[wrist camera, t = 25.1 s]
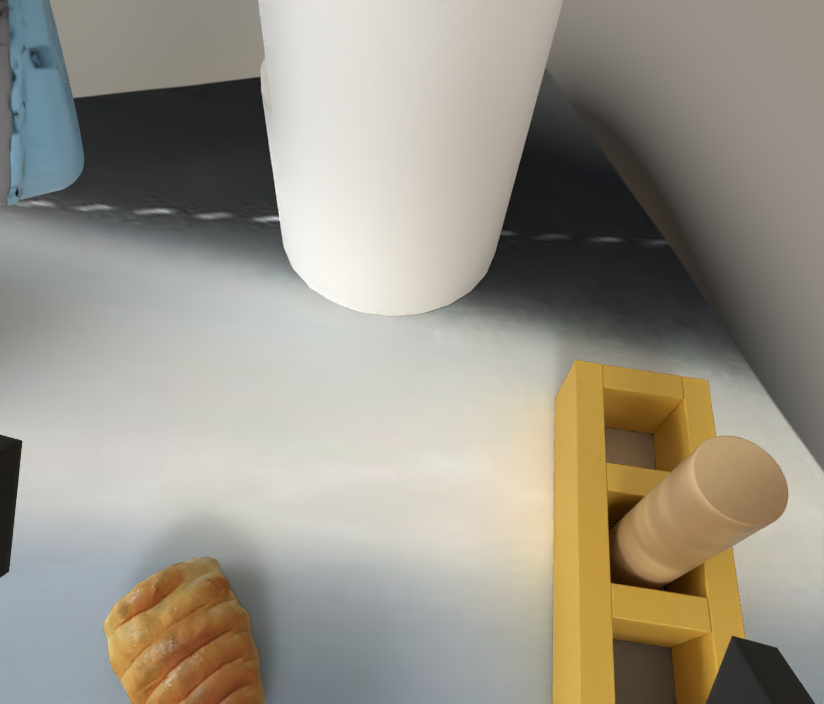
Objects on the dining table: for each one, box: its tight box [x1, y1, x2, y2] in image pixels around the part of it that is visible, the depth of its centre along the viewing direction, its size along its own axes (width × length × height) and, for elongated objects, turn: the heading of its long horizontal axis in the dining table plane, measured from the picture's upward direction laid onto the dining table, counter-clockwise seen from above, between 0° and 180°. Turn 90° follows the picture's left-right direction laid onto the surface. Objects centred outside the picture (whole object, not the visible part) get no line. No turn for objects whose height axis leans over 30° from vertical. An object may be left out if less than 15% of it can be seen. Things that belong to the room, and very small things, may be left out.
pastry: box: [104, 557, 265, 704], centre depth 32 cm, size 9×7×4 cm
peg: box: [609, 436, 788, 590], centre depth 32 cm, size 4×4×14 cm
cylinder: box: [258, 0, 563, 316], centre depth 40 cm, size 17×17×28 cm
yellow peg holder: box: [552, 360, 745, 704], centre depth 36 cm, size 8×22×5 cm, turn 173°
